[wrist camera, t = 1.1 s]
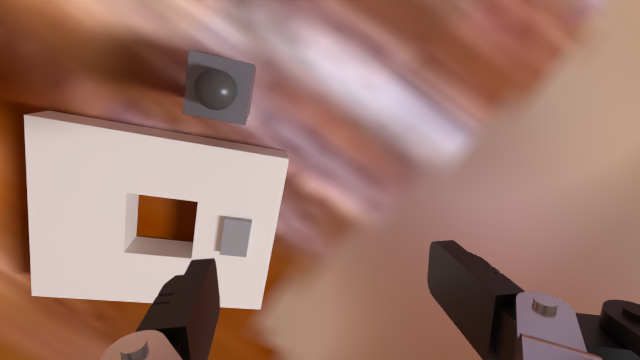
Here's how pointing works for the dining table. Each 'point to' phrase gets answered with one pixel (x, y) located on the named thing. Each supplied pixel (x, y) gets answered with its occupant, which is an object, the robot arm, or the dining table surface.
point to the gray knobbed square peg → (218, 88)
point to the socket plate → (122, 208)
